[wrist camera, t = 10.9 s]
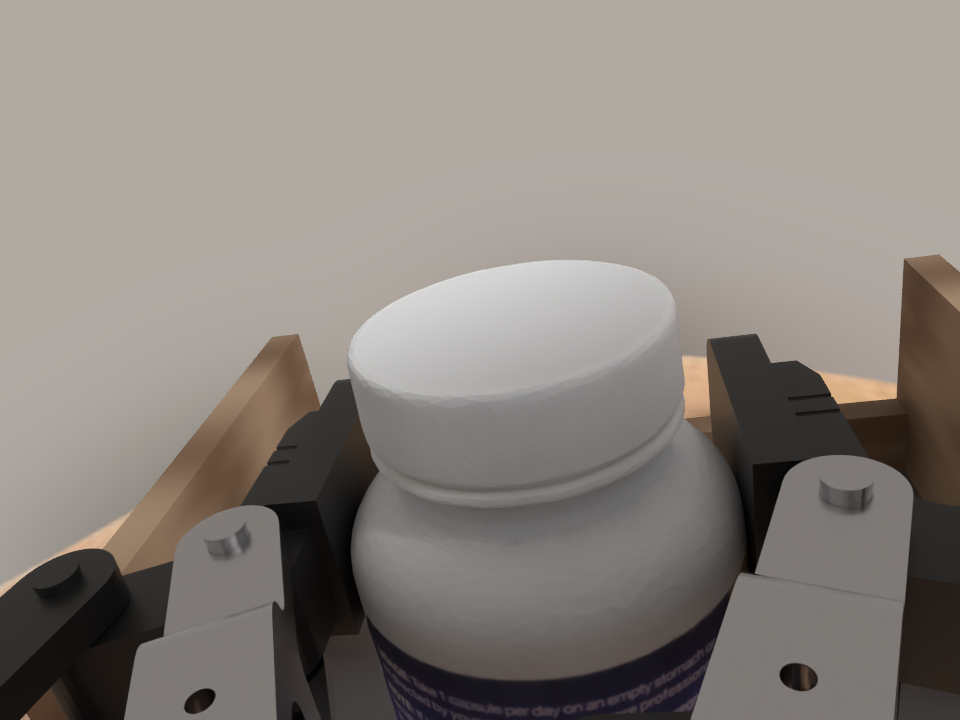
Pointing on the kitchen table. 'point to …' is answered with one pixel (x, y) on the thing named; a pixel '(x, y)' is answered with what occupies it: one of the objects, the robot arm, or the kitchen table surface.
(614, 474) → the pill bottle
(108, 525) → the kitchen table surface
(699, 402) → the kitchen table surface
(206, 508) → the walled box
